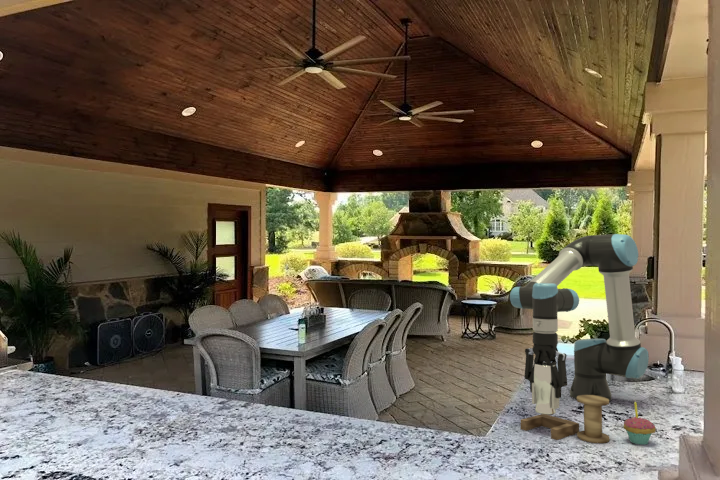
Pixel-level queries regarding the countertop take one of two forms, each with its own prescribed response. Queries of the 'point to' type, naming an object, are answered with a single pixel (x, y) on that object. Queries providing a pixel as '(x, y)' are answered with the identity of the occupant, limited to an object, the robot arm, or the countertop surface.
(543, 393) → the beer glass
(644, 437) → the cupcake
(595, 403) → the bobbin
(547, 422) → the u-shaped block
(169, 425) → the countertop surface
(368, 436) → the countertop surface
